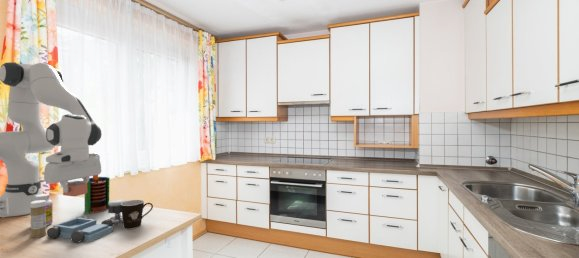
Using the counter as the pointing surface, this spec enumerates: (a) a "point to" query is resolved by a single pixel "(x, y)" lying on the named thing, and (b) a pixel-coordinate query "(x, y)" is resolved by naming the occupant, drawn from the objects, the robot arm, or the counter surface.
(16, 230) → the counter surface
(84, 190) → the block
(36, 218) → the sprinkles bottle
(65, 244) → the counter surface
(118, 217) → the axle mount
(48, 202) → the supplement bottle
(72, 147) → the robot arm
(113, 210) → the wheel
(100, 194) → the motor
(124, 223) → the coffee mug
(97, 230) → the chassis
